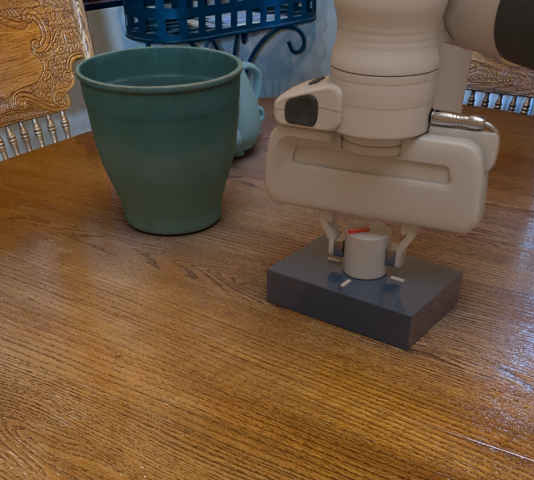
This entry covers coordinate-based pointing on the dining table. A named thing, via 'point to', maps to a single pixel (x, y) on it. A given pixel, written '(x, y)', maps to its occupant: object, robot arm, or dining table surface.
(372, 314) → the panel
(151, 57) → the flower pot
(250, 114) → the decorative pot
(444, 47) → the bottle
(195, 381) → the dining table surface
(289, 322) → the dining table surface
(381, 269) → the tap knob
